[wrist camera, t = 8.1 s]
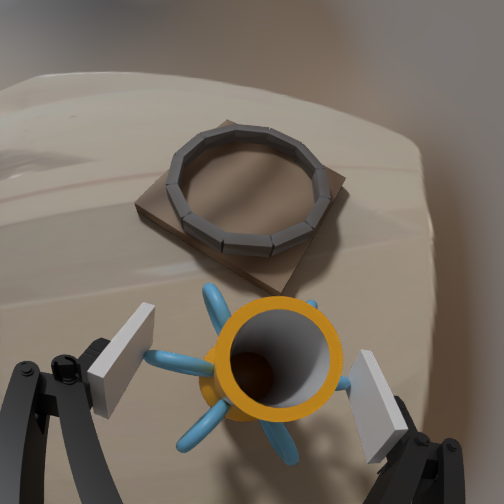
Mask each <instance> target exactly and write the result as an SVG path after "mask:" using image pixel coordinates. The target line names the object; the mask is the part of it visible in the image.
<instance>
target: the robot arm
mask: <svg viewBox="0 0 504 504" xmlns="http://www.w3.org/2000/svg"><path fill="white" fill-rule="evenodd" d="M154 315H155V305H151V304H148V303H144V302H143V303H142V304H141V305H140V307H139V308H138V309H137V310H136V311H135V312H134V314H133V315H132V316H131V317H130V318H129V320H128V321H127V322H126V323H125V325H124V326H123V327H122V328H121V329H120V331H119V332H118V333H117V334H116V335H115V337H114V338H113V339H112V340H111V341H109V340H107V339H104V338H99V339H97V340H95V341H93V342H92V343H91V345H90V346H89V347H88V348H87V349H86V350H85V351H84V353H83V354H82V355H81V356H80V357H79V358H78V359H76V358H75V357H73V356H71V355H59V356H57V357H55V358H54V359H53V360H52V362H51V368H52V372H53V374H49V373H44V372H40V369H39V367H38V365H37V364H35V363H34V362H31V361H23V362H20V363H18V364H17V365H16V366H15V368H14V370H13V373H12V376H11V379H10V382H9V385H8V388H7V391H6V394H5V398H4V401H3V404H2V408H1V411H0V504H44V472H45V456H46V444H47V435H48V427H49V419H50V415H52V416H56V417H59V418H60V423H61V429H62V434H63V438H64V443H65V447H66V452H67V456H68V460H69V463H70V467H71V471H72V474H73V478H74V481H75V484H76V487H77V491H78V494H79V497H80V500H81V502H82V504H123V502H122V500H121V498H120V496H119V493H118V491H117V489H116V486H115V484H114V481H113V479H112V476H111V474H110V471H109V469H108V466H107V463H106V460H105V458H104V455H103V452H102V449H101V446H100V443H99V440H98V437H97V433H96V430H95V427H94V423H93V420H92V416H91V413H90V409H91V408H92V406H93V410H94V413H95V414H97V415H99V416H102V417H104V418H107V419H109V418H110V416H111V414H112V413H113V411H114V409H115V407H116V405H117V404H118V402H119V400H120V398H121V397H122V395H123V393H124V391H125V390H126V388H127V386H128V384H129V383H130V381H131V379H132V377H133V376H134V374H135V372H136V371H137V369H138V367H139V366H140V364H141V362H142V360H143V359H144V354H145V353H146V352H147V351H148V350H149V349H150V347H151V345H152V342H153V328H154ZM347 378H348V379H349V380H350V386H349V387H348V388H347V389H346V392H347V395H348V399H349V402H350V405H351V409H352V412H353V415H354V419H355V422H356V426H357V429H358V433H359V436H360V440H361V443H362V447H363V450H364V454H365V458H366V462H367V464H370V463H380V462H381V461H382V460H383V459H384V458H385V457H386V458H387V461H388V462H387V463H386V464H385V465H384V466H383V467H382V468H381V469H380V470H379V471H378V472H377V474H379V473H380V474H379V476H378V478H377V480H376V482H375V484H374V485H373V487H372V489H371V491H370V492H369V494H368V496H367V497H366V499H365V501H364V502H363V504H411V501H412V504H465V480H464V466H463V456H462V448H461V446H460V444H459V442H458V441H456V440H455V439H452V438H447V439H445V440H444V441H443V442H442V444H438V443H433V442H431V441H430V439H429V438H428V436H427V435H425V434H423V433H421V432H418V431H417V429H416V427H415V425H414V423H413V420H412V418H411V416H410V415H409V412H408V410H407V408H406V406H405V404H404V402H403V401H402V400H401V399H400V398H399V397H398V396H393V394H392V392H391V390H390V388H389V386H388V384H387V382H386V380H385V378H384V376H383V374H382V372H381V370H380V367H379V365H378V363H377V361H376V359H375V357H374V355H373V353H372V352H371V351H368V350H361V349H360V351H359V354H358V356H357V358H356V360H355V362H354V364H353V366H352V368H351V370H350V372H349V374H348V376H347ZM412 499H413V500H412Z"/></svg>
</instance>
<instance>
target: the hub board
mask: <svg viewBox="0 0 504 504" xmlns="http://www.w3.org/2000/svg"><path fill="white" fill-rule="evenodd" d="M345 179H346V178H345V177H344V176H342V175H340V174H338V173H336V172H335V171H333V170H331V169H329V168H327V167H325V166H324V165H322V164H321V163H320V162H319V161H318V159H317V158H316V157H315V156H314V155H313V154H312V153H311V152H310V150H309V149H308V148H307V147H306V146H305V145H304V144H302V142H300V141H298V140H296V139H293V138H291V137H289V136H287V135H285V134H283V133H281V132H279V131H277V130H274V129H272V128H271V129H270V130H269V127H260V126H251V125H240V124H236V123H234V122H232V121H229V120H226V121H225V122H223V123H222V124H221V125H220V126H218V127H217V128H216V129H212V130H208V131H204V132H201V133H200V134H197V135H196V136H195V137H193V138H192V139H191V140H190V141H189V142H187V143H186V144H185V145H184V146H183V147H182V148H180V149H179V150H178V151H177V152H176V153H175V154H174V155H173V158H172V162H171V166H170V169H169V170H168V171H167V172H165V173H164V174H163V175H162V176H161V177H160V178H159V179H158V180H157V181H156V182H155V183H154V184H153V185H152V186H151V187H150V188H149V189H148V190H147V191H146V192H145V193H144V194H143V195H142V196H141V197H140V198H139V199H138V200H137V201H136V202H135V206H136V209H137V211H138V212H140V213H141V214H143V215H144V216H146V217H147V218H149V219H150V220H152V221H154V222H155V223H157V224H158V225H160V226H161V227H163V228H164V229H166V230H168V231H169V232H171V233H172V234H174V235H176V236H177V237H179V238H180V239H182V240H183V241H185V242H187V243H188V244H190V245H191V246H193V247H195V248H196V249H198V250H199V251H201V252H203V253H204V254H206V255H207V256H209V257H211V258H212V259H214V260H216V261H217V262H219V263H220V264H222V265H224V266H225V267H227V268H229V269H230V270H232V271H234V272H235V273H237V274H238V275H240V276H242V277H243V278H245V279H247V280H248V281H250V282H252V283H253V284H255V285H257V286H258V287H260V288H262V289H263V290H265V291H267V292H268V293H270V294H272V295H273V296H279V295H280V293H281V292H282V290H283V288H284V287H285V285H286V283H287V282H288V280H289V278H290V277H291V275H292V273H293V272H294V270H295V268H296V266H297V265H298V263H299V261H300V260H301V258H302V256H303V254H304V253H305V251H306V249H307V248H308V246H309V244H310V242H311V241H312V239H313V237H314V235H315V234H316V232H317V230H318V228H319V226H320V225H321V223H322V221H323V219H324V218H325V216H326V214H327V212H328V210H329V209H330V207H331V205H332V203H333V201H334V199H335V198H336V196H337V194H338V192H339V190H340V188H341V187H342V185H343V183H344V181H345Z"/></svg>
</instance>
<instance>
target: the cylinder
mask: <svg viewBox="0 0 504 504" xmlns="http://www.w3.org/2000/svg"><path fill="white" fill-rule="evenodd" d="M202 293H203V298H204V302H205V305H206V308H207V311H208V314H209V316H210V319H211V321H212V324H213V326H214V328H215V330H216V332H217V335H218V336H219V337H218V340H217V344H216V345H215V346H214V347H213V348H212V349H211V350H210V351H209V352H208V353H207V354H206V356H205V358H204V359H203V360H201V359H197V358H193V357H189V356H185V355H181V354H176V353H171V352H165V351H159V350H149V351H147V352H146V353H145V354H144V360H145V361H146V362H147V363H148V364H150V365H153V366H156V367H159V368H162V369H166V370H170V371H174V372H179V373H183V374H189V375H194V376H199V386H200V390H201V393H202V395H203V398H204V399H205V401H206V402H207V404H208V405H209V406H210V407H211V408H210V409H209V410H208V411H207V412H206V413H205V414H204V415H203V416H202V417H201V418H200V419H199V420H198V421H197V422H196V423H195V424H194V425H193V426H192V427H191V428H190V429H189V430H188V431H187V432H186V433H185V434H184V435H183V436H182V437H181V438H180V440H179V441H178V442H177V443H176V448H177V450H178V451H179V452H181V453H186V452H188V451H190V450H191V449H193V448H194V447H195V446H196V445H197V444H199V443H200V442H201V441H202V440H203V439H204V438H205V437H206V436H207V435H208V434H209V433H210V432H211V431H212V430H213V429H214V428H215V427H216V426H217V425H218V424H219V423H220V421H221V420H222V419H223V418H224V417H225V418H227V419H230V420H233V421H239V422H249V421H255V420H259V422H260V424H261V426H262V428H263V430H264V432H265V434H266V436H267V438H268V440H269V442H270V443H271V445H272V447H273V448H274V450H275V451H276V453H277V454H278V456H279V457H280V458H281V460H282V461H283V462H284V463H285V464H287V465H289V466H293V465H295V464H297V463H298V461H299V454H298V451H297V448H296V446H295V443H294V441H293V439H292V437H291V435H290V434H289V432H288V430H287V428H286V427H285V425H284V423H283V422H288V421H294V420H298V419H301V418H303V417H306V416H308V415H310V414H312V413H313V412H315V411H316V410H318V409H319V408H320V407H321V406H323V405H324V404H325V403H326V402H327V400H328V399H329V398H330V397H331V395H332V394H333V392H334V391H340V390H346V389H347V388H348V387H349V386H350V380H349V379H348V378H347V377H344V376H341V373H342V367H343V354H342V347H341V343H340V340H339V337H338V335H337V333H336V331H335V329H334V327H333V325H332V324H331V323H330V321H329V320H328V319H327V318H326V317H325V316H324V315H323V314H322V313H321V312H320V311H319V310H318V309H317V307H318V306H317V303H316V302H315V301H314V300H309V301H307V302H304V301H302V300H299V299H296V298H292V297H285V296H270V297H264V298H260V299H257V300H254V301H252V302H250V303H248V304H246V305H244V306H243V307H241V308H240V309H239V310H237V311H236V312H235V313H234V314H233V315H232V316H231V314H230V311H229V309H228V307H227V304H226V302H225V300H224V298H223V296H222V294H221V293H220V291H219V290H218V288H217V287H216V286H215V285H214V284H212V283H206V284H205V285H204V286H203V288H202Z"/></svg>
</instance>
